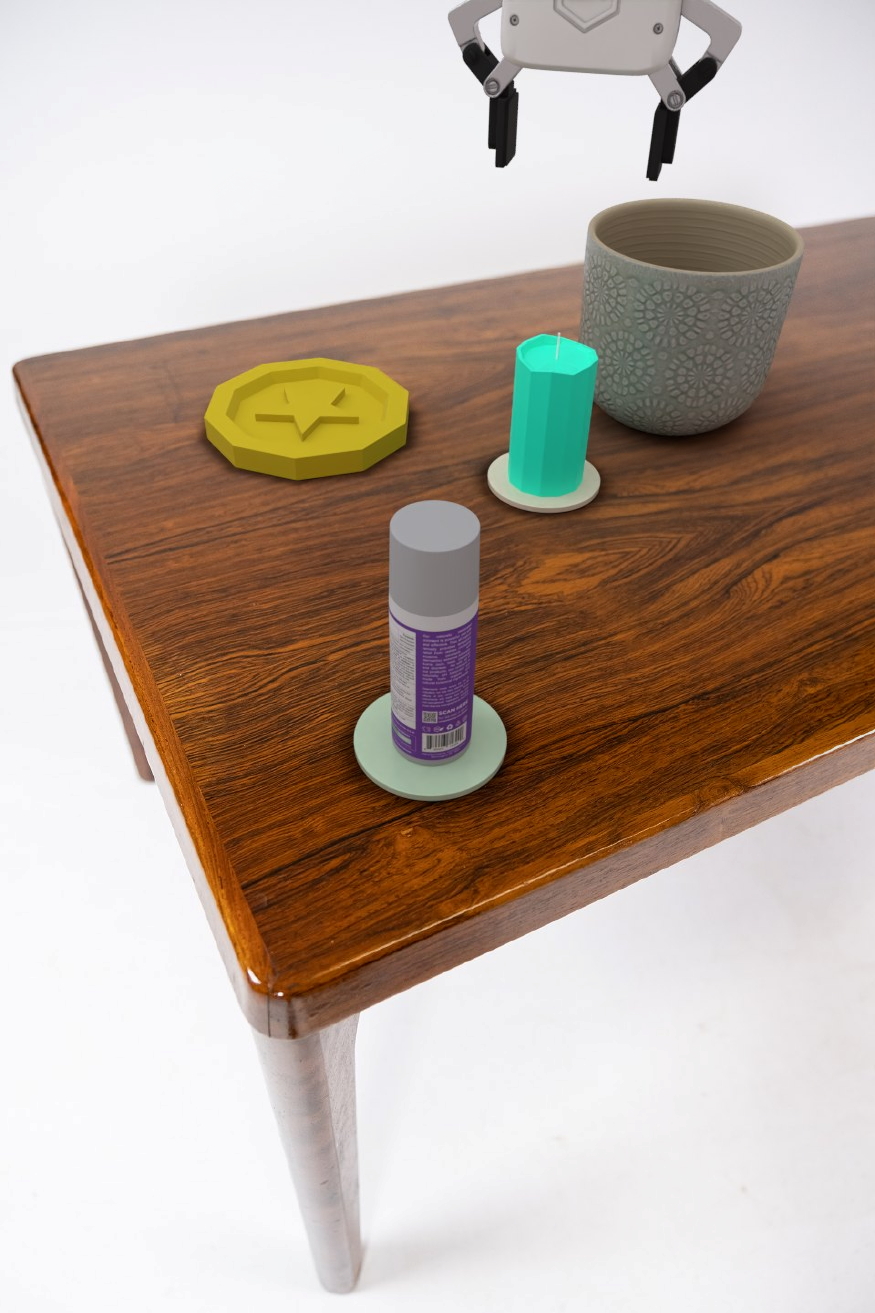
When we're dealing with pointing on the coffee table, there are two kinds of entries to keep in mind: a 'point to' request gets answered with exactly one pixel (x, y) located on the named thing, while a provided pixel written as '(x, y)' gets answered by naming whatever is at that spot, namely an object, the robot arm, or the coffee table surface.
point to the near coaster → (429, 780)
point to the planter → (684, 309)
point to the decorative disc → (308, 418)
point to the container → (433, 629)
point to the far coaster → (521, 500)
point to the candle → (551, 415)
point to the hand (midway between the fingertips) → (578, 168)
